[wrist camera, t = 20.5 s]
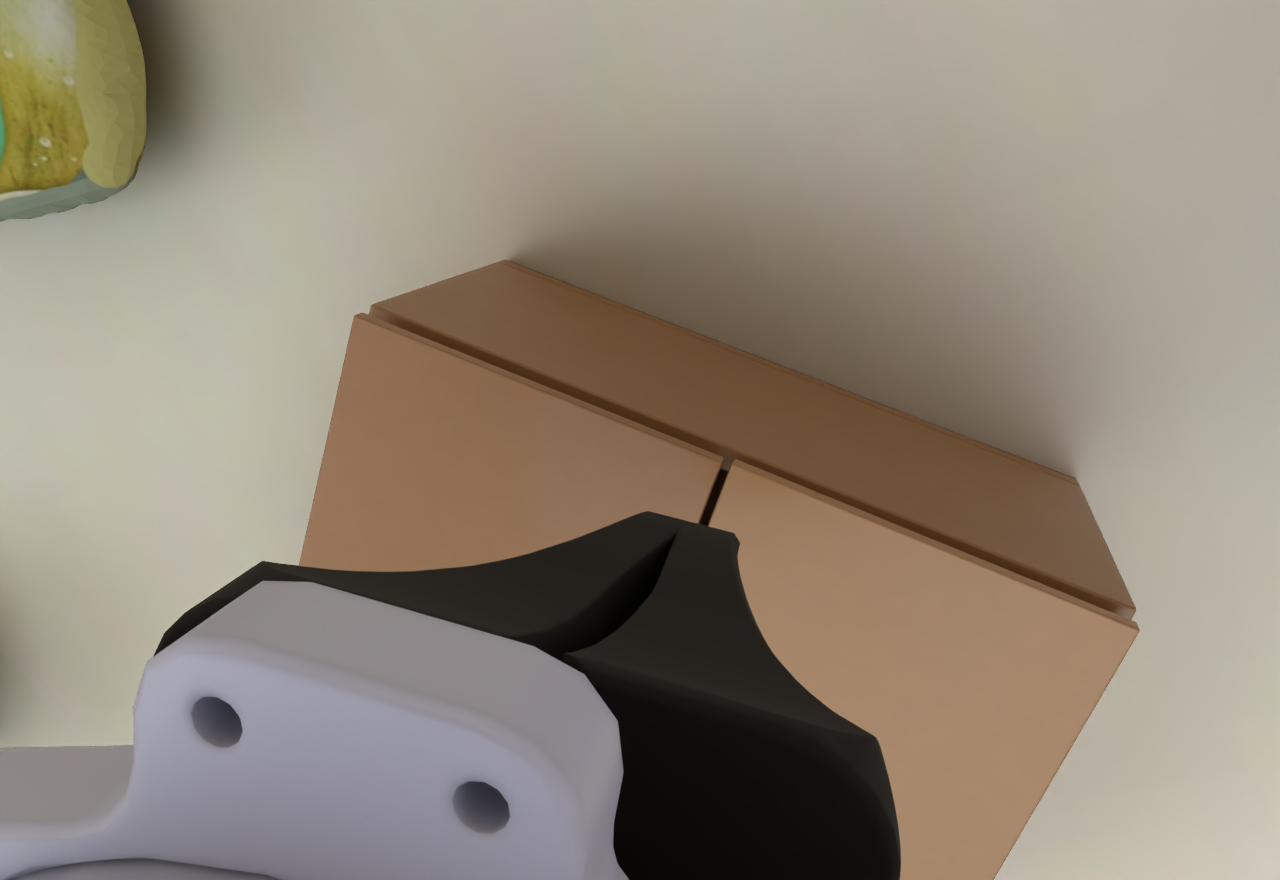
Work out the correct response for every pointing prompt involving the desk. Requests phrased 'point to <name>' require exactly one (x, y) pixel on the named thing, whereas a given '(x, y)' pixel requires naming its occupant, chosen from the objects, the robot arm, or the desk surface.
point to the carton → (636, 441)
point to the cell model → (68, 104)
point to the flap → (924, 661)
